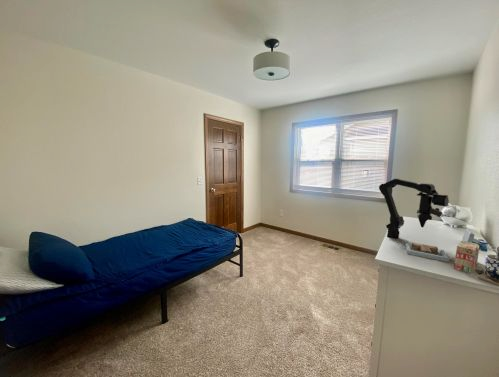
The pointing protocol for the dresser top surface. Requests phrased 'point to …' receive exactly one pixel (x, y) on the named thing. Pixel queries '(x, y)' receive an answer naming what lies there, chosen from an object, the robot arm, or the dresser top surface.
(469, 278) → the dresser top surface
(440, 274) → the dresser top surface
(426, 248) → the t block
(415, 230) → the dresser top surface
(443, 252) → the dock
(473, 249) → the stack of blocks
